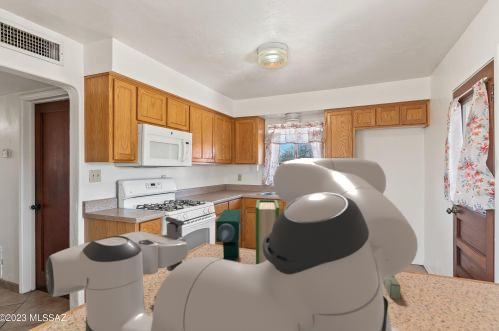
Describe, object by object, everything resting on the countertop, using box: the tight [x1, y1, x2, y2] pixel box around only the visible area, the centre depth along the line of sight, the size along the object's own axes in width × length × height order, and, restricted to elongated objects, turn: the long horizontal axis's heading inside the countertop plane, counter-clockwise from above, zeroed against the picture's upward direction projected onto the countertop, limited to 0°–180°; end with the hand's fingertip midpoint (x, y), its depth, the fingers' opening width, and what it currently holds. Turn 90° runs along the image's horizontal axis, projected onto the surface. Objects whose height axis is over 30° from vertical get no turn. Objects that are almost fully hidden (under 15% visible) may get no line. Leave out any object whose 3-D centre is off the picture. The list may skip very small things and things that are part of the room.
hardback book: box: [255, 199, 280, 265], centre depth 93 cm, size 18×7×24 cm, turn 177°
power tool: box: [215, 209, 242, 263], centre depth 89 cm, size 32×7×20 cm, turn 179°
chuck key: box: [164, 216, 185, 272], centre depth 72 cm, size 8×4×13 cm, turn 45°
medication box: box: [383, 275, 402, 300], centre depth 80 cm, size 12×3×4 cm, turn 164°
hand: (177, 238), depth 73 cm, fingers closed on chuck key, 4 cm apart
